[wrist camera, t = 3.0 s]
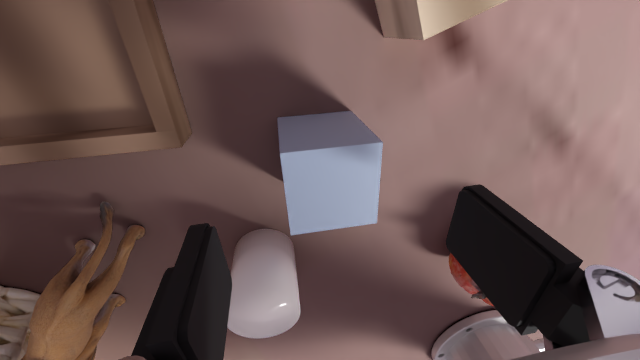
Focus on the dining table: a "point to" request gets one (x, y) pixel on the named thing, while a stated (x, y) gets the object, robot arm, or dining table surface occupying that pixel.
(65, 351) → the lion figurine
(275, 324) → the off-white ceramic salt cellar
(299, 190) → the slate-blue block
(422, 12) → the beech cube
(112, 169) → the dining table surface
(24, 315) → the storage basket
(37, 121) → the walnut tray
